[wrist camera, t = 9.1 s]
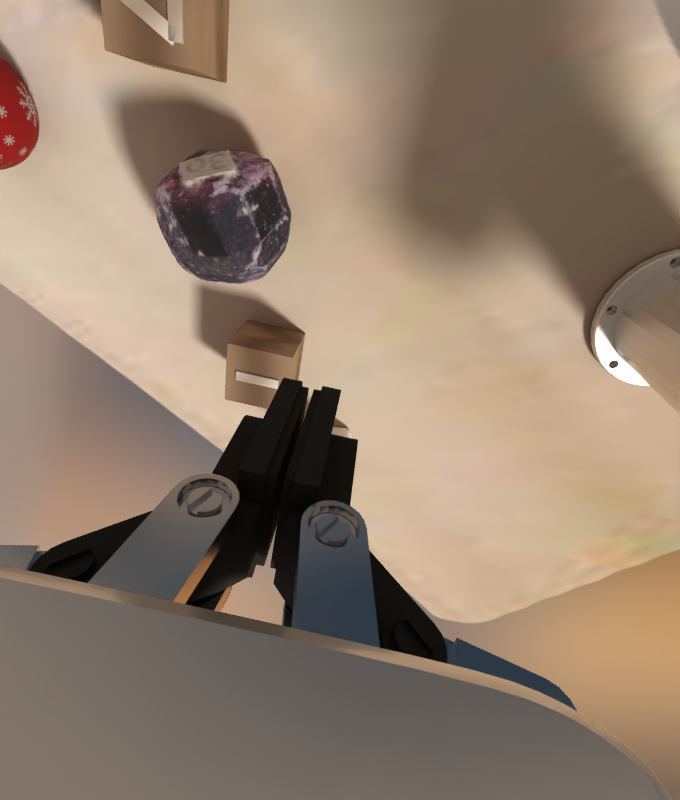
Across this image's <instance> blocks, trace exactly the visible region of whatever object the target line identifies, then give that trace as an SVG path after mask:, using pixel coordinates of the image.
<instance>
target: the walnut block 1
mask: <svg viewBox="0 0 680 800" xmlns="http://www.w3.org/2000/svg"><path fill="white" fill-rule="evenodd" d="M304 337H305V333H303V332H299V331H294V330H290V329H285V328H281V327H276V326H272V325H267V324H263V323H258V322H254V321H249V320H247V321H246V322H245V324H244V325H243V326H242V327H241V328H240V329H239V331H238V332H237V333H236V334H235V335H234V336H233V338H232V339H231V340H230V341H229V342H228V343H227V364H226V385H225V399H226V400H231V401H235V402H240V403H244V404H249V405H253V406H258V407H262V408H267V409H268V408H269V406H270V404H271V402H272V400H273V398H274V395H275V393H276V391H277V389H278V387H279V385H280V383H281V381H282V379H283V378H289V379H293V380H298V376H299V370H300V363H301V357H302V350H303V344H304Z"/></svg>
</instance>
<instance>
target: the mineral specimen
mask: <svg viewBox="0 0 680 800" xmlns="http://www.w3.org/2000/svg"><path fill="white" fill-rule="evenodd" d="M155 199H156V213H157V221H158V224H159V227H160V229H161V231H162V233H163V236H164V238H165V240H166V242H167V244H168V246H169V247H170V249H171V252H172V254H173V255H174V256H175V258H176V260H177V262H178V263H179V264H180V266H181V267H182V268H184V269H185V270H186V271H187V272H189V273H190V274H192V275H194V276H195V277H197V278H200V279H201V280H206V281H209V282H211V283H212V282H213V283H217V284H222V283H236V284H243V283H249V282H253V281H255V280H258V279H260V278H262V277H263V276H265V275H266V274H267V273H268V272H269V270H270V269H271V268H272V267H273V265H274V264H275V263H276V262H277V260H278V259H279V258H280V256H281V255H282V253H283V252H284V250H285V248H286V245H287V243H288V237H289V232H290V222H291V212H290V208H289V205H288V202H287V199H286V196H285V193H284V190H283V187H282V184H281V181H280V178H279V176H278V173H277V171H276V169H275V168H274V166H273V165H272V163H271V161H270V160H269V159H266V158H263V157H260V156H258V155H255V154H253V153H250V152H242V151H229V150H227V151H222V150H199V151H198V152H196V153H194V154H192V155H191V156H190V157H188V158H187V159H186V160H185V161H184V162H180V163H179V166H178V167H176V168H175V169H174V170H173V171H172V172H171V173H170V174H169V175H167V176H166V177H165V178H164V179H163V180H162V181H161V182H160V183H159V184H158V186H157V187H156V188H155Z"/></svg>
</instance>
